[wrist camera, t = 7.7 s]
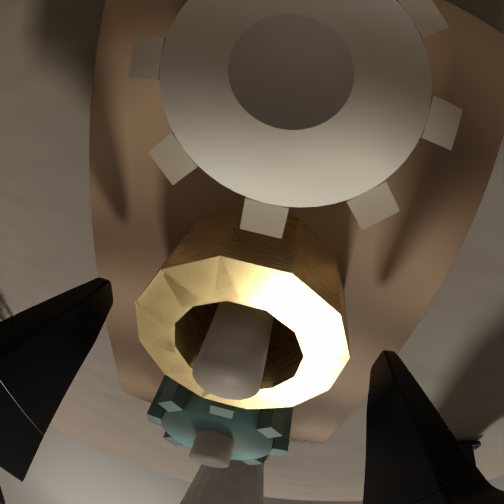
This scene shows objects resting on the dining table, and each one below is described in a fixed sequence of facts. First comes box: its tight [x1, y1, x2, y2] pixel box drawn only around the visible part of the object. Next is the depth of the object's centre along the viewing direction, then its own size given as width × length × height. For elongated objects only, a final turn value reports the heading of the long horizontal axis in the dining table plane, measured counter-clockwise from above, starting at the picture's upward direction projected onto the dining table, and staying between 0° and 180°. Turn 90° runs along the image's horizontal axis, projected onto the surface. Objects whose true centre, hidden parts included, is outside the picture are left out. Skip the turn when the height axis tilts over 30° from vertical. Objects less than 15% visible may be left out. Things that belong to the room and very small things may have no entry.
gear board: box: [90, 0, 504, 468], centre depth 10 cm, size 22×13×6 cm, turn 170°
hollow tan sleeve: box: [135, 206, 350, 409], centre depth 10 cm, size 6×6×3 cm
